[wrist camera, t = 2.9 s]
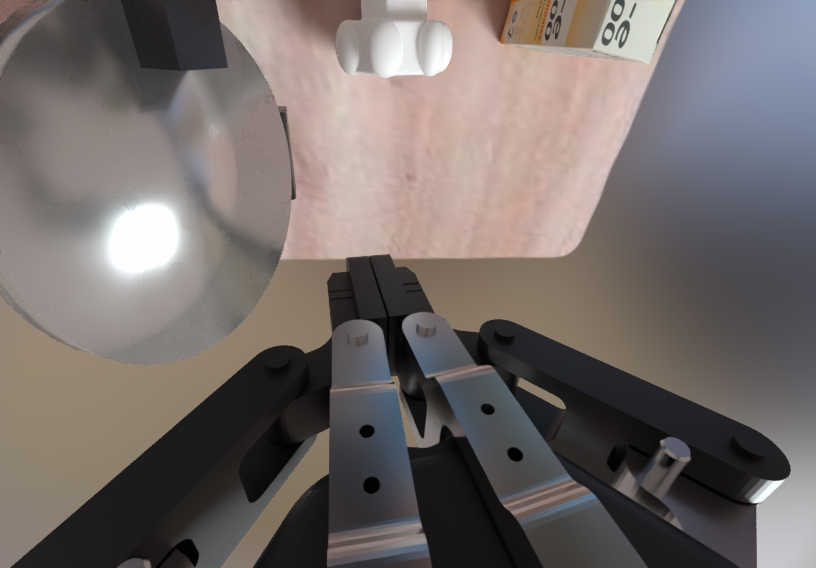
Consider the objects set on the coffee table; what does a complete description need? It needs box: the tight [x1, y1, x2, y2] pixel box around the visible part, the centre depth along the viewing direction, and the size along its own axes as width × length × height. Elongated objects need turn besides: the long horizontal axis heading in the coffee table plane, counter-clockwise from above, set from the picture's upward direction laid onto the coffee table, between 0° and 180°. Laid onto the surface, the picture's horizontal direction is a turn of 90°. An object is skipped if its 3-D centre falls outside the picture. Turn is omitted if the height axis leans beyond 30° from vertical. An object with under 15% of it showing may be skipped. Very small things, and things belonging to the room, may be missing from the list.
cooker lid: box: [0, 0, 296, 365], centre depth 15 cm, size 20×15×3 cm
